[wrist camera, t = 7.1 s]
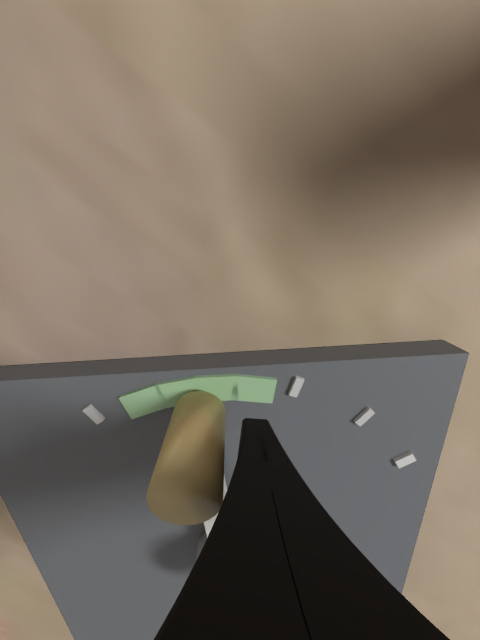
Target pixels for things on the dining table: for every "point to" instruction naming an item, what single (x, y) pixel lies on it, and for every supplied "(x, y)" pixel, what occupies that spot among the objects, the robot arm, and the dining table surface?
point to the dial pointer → (191, 464)
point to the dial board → (240, 402)
